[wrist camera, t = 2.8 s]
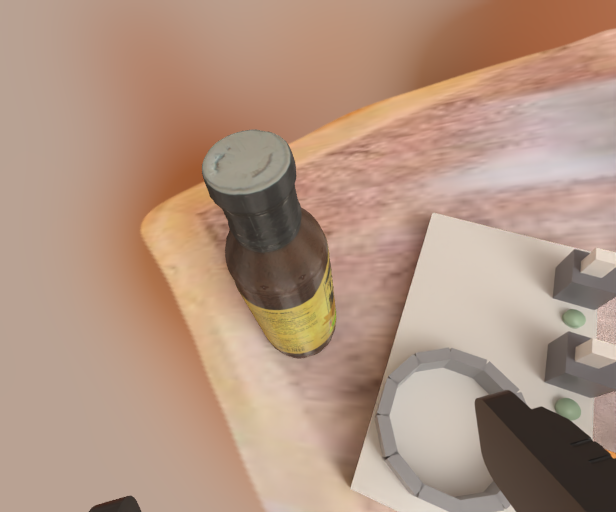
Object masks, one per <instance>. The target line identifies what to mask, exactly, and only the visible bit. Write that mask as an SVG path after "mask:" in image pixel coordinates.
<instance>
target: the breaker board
mask: <svg viewBox="0 0 616 512" xmlns="http://www.w3.org/2000/svg"><path fill="white" fill-rule="evenodd" d="M614 297H616V252H612V251H608V250H604V249H600V248H595V249H594V250H593V251H592V252H590V251H586V250H582V249H578V248H574V247H570V246H566V245H562V244H558V243H554V242H550V241H546V240H542V239H538V238H534V237H530V236H525V235H521V234H517V233H513V232H509V231H505V230H501V229H497V228H493V227H489V226H485V225H481V224H477V223H473V222H469V221H465V220H461V219H457V218H453V217H449V216H445V215H441V214H437V213H432V216H431V219H430V222H429V225H428V228H427V232H426V235H425V238H424V242H423V245H422V249H421V252H420V255H419V259H418V262H417V265H416V269H415V272H414V275H413V279H412V282H411V285H410V289H409V292H408V296H407V299H406V302H405V306H404V309H403V312H402V316H401V319H400V322H399V326H398V329H397V332H396V336H395V339H394V343H393V346H392V349H391V353H390V356H389V359H388V363H387V366H386V369H385V373H384V376H383V380H382V383H381V386H380V390H379V393H378V396H377V400H376V403H375V406H374V410H373V413H372V416H371V420H370V423H369V427H368V430H367V433H366V437H365V440H364V443H363V447H362V450H361V453H360V457H359V460H358V463H357V467H356V470H355V474H354V477H353V480H352V484H351V487H350V489H351V490H353V491H356V492H358V493H360V494H362V495H364V496H366V497H368V498H370V499H372V500H375V501H377V502H379V503H381V504H383V505H385V506H387V507H389V508H392V509H394V510H396V511H398V512H516V511H515V510H514V508H513V507H512V506H511V504H510V503H509V501H508V500H507V499H506V497H505V496H504V495H503V493H502V492H501V490H500V489H499V488H498V486H497V485H496V483H495V482H494V481H493V479H492V477H491V475H490V474H489V472H488V470H487V467H486V465H485V462H484V460H483V457H482V453H481V447H480V440H479V433H478V426H477V419H476V412H475V399H476V398H479V397H483V396H486V395H490V394H493V393H497V392H500V391H504V390H510V391H512V392H513V393H514V394H515V395H517V396H518V397H519V398H520V399H521V400H522V401H523V402H524V403H525V404H526V405H528V406H529V407H530V408H531V409H534V408H537V407H541V406H542V407H544V408H546V409H548V410H551V411H553V412H555V413H557V414H559V415H561V416H563V417H566V418H568V419H569V420H570V421H572V422H573V423H574V424H575V425H577V426H578V427H579V428H580V429H581V430H583V431H584V432H585V433H586V434H587V435H589V436H590V437H591V439H592V441H593V418H594V397H597V396H600V395H603V394H607V393H610V392H613V391H616V345H614V344H611V343H608V342H605V341H601V340H598V339H596V336H597V309H598V308H599V307H600V306H602V305H603V304H605V303H606V302H608V301H610V300H611V299H613V298H614ZM605 450H606V449H605ZM607 451H608V450H607ZM608 452H609V453H610V454H611V456H612V457H613V458H616V453H614V452H611V451H608Z"/></svg>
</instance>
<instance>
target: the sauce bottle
mask: <svg viewBox="0 0 616 512" xmlns="http://www.w3.org/2000/svg"><path fill="white" fill-rule="evenodd" d="M202 174H203V178H204V181H205V184H206V186H207V189H208V191H209V194H210V197H211V198H212V199H213V200H214V202H215V203H216V204H217V205H218V206H220V207H221V208H222V209H223V211H224V214H225V216H226V218H227V219H228V225H229V228H230V231H229V234H228V236H227V240H226V247H225V253H226V254H225V257H226V263H227V267H228V270H229V272H230V274H231V275H232V277H233V279H234V280H235V283H236V286H237V288H238V290H239V292H240V294H241V295H242V297H243V299H244V300H245V302H246V304H247V305H248V307H249V309H250V310H251V312H252V314H253V315H254V317H255V319H256V320H257V322H258V324H259V326H260V327H261V329H262V330H263V332H264V334H265V335H266V337H267V338H268V340H269V341H270V342H271V343H272V345H273V346H274V347H275V348H276V349H277V350H279V351H280V352H282V353H283V354H286V355H288V356H291V357H293V358H305V357H307V356H311V355H314V354H317V353H319V352H320V351H321V350H322V349H323V348H324V347H326V346H327V345H328V343H329V342H330V340H331V338H332V335H333V332H334V330H335V323H336V308H335V300H334V291H333V281H332V274H331V264H330V258H329V249H328V244H327V240H326V237H325V234H324V233H323V231H322V229H321V227H320V225H319V224H318V222H317V221H316V220H315V218H314V217H313V216H312V215H311V214H310V213H308V212H307V211H306V210H304V209H303V208H301V206H300V203H299V202H298V199H297V194H296V190H295V180H296V165H295V161H294V158H293V154H292V152H291V150H290V147H289V145H288V144H287V142H286V141H285V140H284V139H283V138H281V137H280V136H278V135H276V134H274V133H271V132H265V131H260V130H246V131H241V132H237V133H234V134H231V135H229V136H227V137H225V138H223V139H221V140H220V141H218V142H217V143H216V144H215V145H214V146H213V147H212V148H211V149H210V150H209V151H208V153H207V155H206V156H205V158H204V161H203V164H202Z"/></svg>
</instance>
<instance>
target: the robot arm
mask: <svg viewBox="0 0 616 512" xmlns="http://www.w3.org/2000/svg"><path fill="white" fill-rule="evenodd" d="M475 412H476V419H477V426H478V433H479V440H480V447H481V453H482V457H483V460H484V462H485V465H486V467H487V470H488V472H489V474H490V475H491V477H492V479H493V481H494V482H495V483H496V485H497V486H498V488H499V489H500V490H501V492H502V493H503V495H504V496H505V497H506V499H507V500H508V501H509V503H510V504H511V506H512V507H513V508H514V510H515V511H516V512H616V458H613V457H612V456H611V454H610V453H609V452H608V451H607V450H605V449H604V448H603V447H602V446H601V445H599V444H598V443H597V442H596V441H595V442H593V441H592V439H591V437H590V436H589V435H587V434H586V433H585V432H584V431H583V430H581V429H580V428H579V427H578V426H577V425H575V424H574V423H573V422H572V421H570V420H569V419H568V418H566V417H563V416H561V415H559V414H557V413H555V412H553V411H551V410H548V409H546V408H544V407H542V406H541V407H537V408H534V409H531V408H530V407H529V406H528V405H526V404H525V403H524V402H523V401H522V400H521V399H520V398H519V397H518V396H517V395H515V394H514V393H513V392H512V391H510V390H504V391H500V392H497V393H493V394H490V395H486V396H483V397H479V398H476V399H475ZM89 512H141V510H140V507H139V505H138V503H137V501H136V499H135V498H134V497H132V496H126V497H123V498H119V499H116V500H112V501H109V502H105V503H102V504H99V505H96V506H94V507H92V508H91V510H90V511H89Z"/></svg>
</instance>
